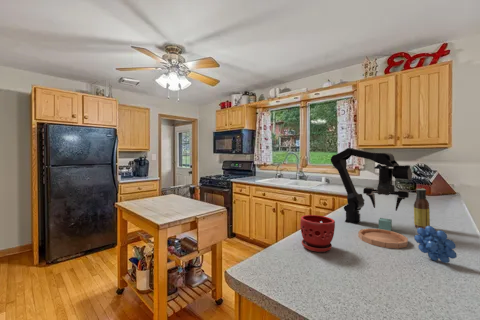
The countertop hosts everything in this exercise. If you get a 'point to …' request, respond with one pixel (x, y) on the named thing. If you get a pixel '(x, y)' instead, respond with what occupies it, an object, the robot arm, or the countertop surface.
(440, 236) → the grapes
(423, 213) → the sauce bottle
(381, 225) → the block
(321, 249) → the plant pot
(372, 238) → the dish
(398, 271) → the countertop surface
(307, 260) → the countertop surface
